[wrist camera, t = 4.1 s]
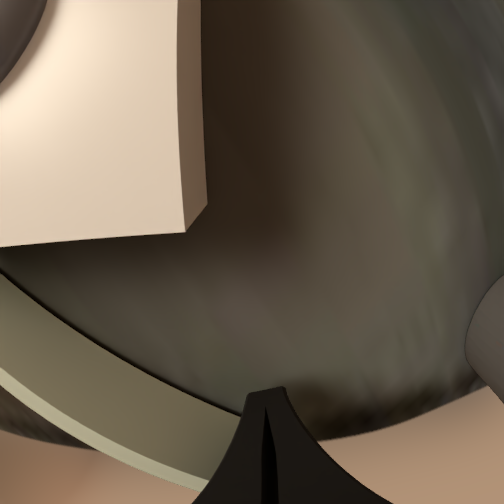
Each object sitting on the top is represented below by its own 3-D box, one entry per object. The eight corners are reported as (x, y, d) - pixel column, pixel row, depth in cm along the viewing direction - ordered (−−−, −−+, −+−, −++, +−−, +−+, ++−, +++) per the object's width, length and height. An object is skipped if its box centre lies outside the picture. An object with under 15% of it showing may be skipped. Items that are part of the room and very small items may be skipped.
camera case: (-27, 230, 9) (-98, 262, 5) (-21, 27, 7) (-82, 8, 2) (207, 203, 10) (179, 240, 5) (201, -53, 7) (186, -132, 2)
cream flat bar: (-43, 252, 9) (-96, 279, 6) (-41, 234, 9) (-97, 259, 5) (262, 441, 12) (268, 508, 9) (275, 430, 12) (283, 499, 8)
